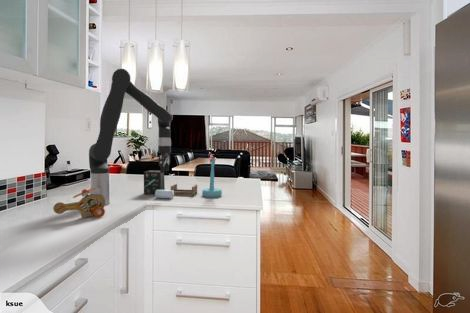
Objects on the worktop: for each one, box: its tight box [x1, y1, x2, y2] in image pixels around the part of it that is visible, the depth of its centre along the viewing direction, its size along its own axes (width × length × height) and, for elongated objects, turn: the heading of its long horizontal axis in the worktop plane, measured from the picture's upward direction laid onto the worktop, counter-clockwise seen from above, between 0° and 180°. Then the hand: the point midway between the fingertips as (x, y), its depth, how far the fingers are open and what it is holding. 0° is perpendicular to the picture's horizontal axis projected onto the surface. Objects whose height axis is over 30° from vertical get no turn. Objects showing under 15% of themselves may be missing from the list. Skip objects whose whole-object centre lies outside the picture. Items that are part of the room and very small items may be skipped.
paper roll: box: [154, 189, 175, 200], centre depth 174 cm, size 11×5×5 cm, turn 85°
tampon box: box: [143, 170, 166, 195], centre depth 189 cm, size 11×9×15 cm
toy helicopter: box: [52, 187, 106, 219], centre depth 129 cm, size 8×21×14 cm, turn 130°
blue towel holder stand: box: [201, 156, 223, 198], centre depth 183 cm, size 13×12×25 cm
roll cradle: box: [170, 183, 198, 197], centre depth 187 cm, size 10×15×6 cm, turn 85°
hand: (164, 171), depth 173 cm, fingers open, 8 cm apart
